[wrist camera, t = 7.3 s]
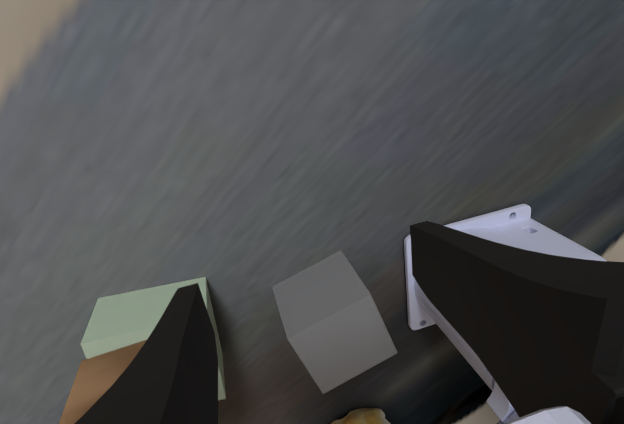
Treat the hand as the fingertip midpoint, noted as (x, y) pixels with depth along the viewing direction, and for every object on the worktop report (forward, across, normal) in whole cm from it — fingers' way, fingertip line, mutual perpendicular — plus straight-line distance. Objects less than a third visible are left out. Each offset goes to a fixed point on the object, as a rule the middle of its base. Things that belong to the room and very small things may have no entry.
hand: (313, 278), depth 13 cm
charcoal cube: (+10, -2, +9) cm, 14 cm away
